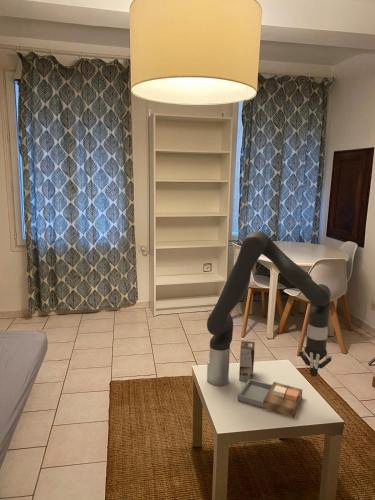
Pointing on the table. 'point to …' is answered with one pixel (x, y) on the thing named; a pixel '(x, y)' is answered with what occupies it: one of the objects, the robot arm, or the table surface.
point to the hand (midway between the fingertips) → (313, 375)
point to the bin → (254, 393)
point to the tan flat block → (281, 401)
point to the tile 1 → (280, 391)
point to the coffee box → (246, 360)
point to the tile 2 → (292, 394)
